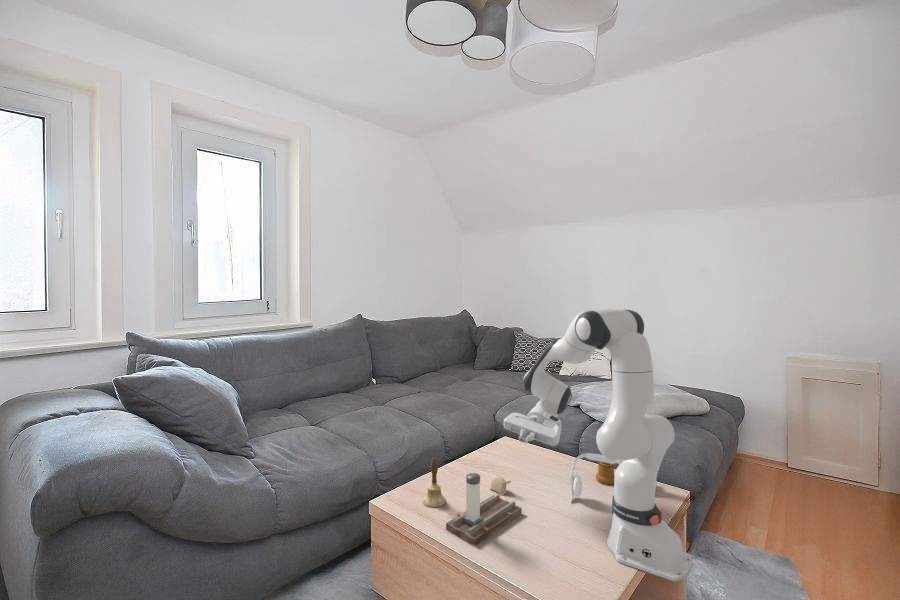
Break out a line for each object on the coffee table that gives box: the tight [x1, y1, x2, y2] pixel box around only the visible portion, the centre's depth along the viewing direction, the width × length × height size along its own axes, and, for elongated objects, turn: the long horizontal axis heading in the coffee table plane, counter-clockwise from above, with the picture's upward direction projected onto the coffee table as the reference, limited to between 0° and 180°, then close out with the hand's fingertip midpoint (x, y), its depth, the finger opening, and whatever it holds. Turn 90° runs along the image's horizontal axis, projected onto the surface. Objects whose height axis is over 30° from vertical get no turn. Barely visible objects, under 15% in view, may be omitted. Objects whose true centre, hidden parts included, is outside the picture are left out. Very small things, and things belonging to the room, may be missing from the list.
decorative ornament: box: [488, 475, 512, 497], centre depth 162 cm, size 4×8×5 cm, turn 40°
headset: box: [570, 452, 622, 504], centre depth 152 cm, size 20×7×18 cm, turn 64°
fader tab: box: [463, 472, 483, 526], centre depth 138 cm, size 5×4×15 cm
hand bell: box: [421, 457, 447, 508], centre depth 154 cm, size 8×8×16 cm
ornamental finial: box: [595, 461, 615, 486], centre depth 169 cm, size 8×8×8 cm
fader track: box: [445, 493, 523, 547], centre depth 142 cm, size 12×24×4 cm, turn 136°
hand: (522, 440), depth 149 cm, fingers closed
